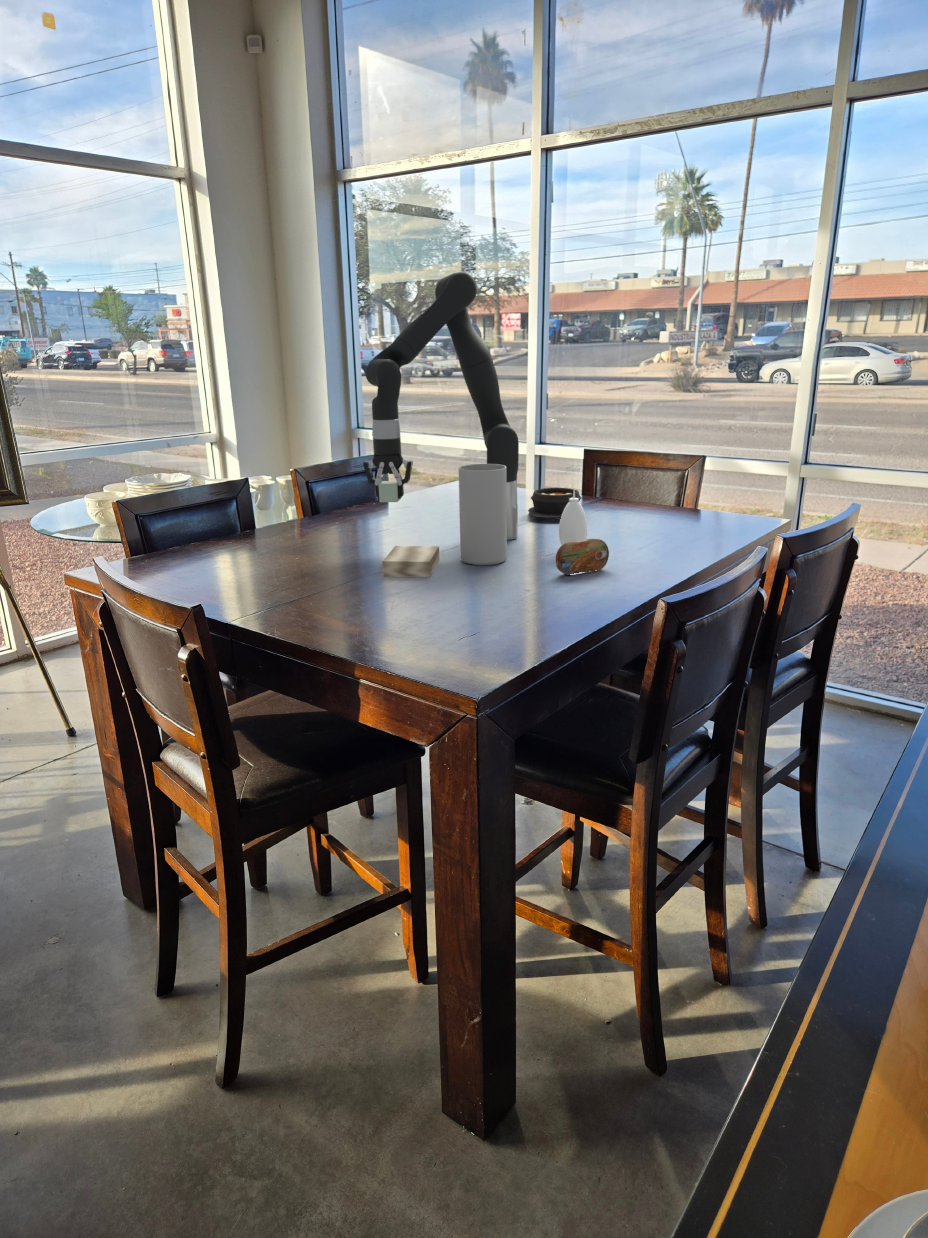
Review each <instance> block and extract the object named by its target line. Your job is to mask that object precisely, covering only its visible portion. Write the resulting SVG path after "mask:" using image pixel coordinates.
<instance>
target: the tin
mask: <svg viewBox="0 0 928 1238" xmlns="http://www.w3.org/2000/svg"><path fill="white" fill-rule="evenodd" d="M609 557H610V551H609V546H608V545H607V543H606V542H605V541H604V540H602V539H599V538H587V539H586V540H580V541H575V542H568V543H565V544H563V545H561V546H560V547H559V548H558V549H557V551H556V554H555V565H556V568H557V569H558V571H559V572H561V574H564V575H567V576H568V575H570V574H574V573H579V572H589V571H595V570H599V571H601V570H602V569H603V568H605V566H606V565H607V563H608V560H609Z"/></svg>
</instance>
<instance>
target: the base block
mask: <svg viewBox="0 0 928 1238" xmlns="http://www.w3.org/2000/svg"><path fill="white" fill-rule="evenodd" d="M439 562H440V546H439V545H437V546H436V545H431V546H430V545H428V546H427V545H395V546H394V547H392V549H391V550H390V552H389V553H388V554H387V555H386V556H385V558H384V559H383V560H382V566H383V567H382V570H383V573H382V575H383V577H394V578H396V577H399V578H401V577H403V578H404V577H405V578H412V577H413V578H414V577H417V578H430V577H431V576H432V574H433V573H434V571H435V569H436V567H437V566H438V564H439Z"/></svg>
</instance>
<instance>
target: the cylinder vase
mask: <svg viewBox="0 0 928 1238" xmlns="http://www.w3.org/2000/svg"><path fill="white" fill-rule="evenodd" d="M458 499H459V500H458V503H459V506H458V507H459V508H458V509H459V511H458V512H459V543H460V544H459V545H460V546H459V548H460V549H459V550H460V560H461V561H462V562H463V563H465V564H467V563H468V565H471V564H473V566H493V565H499V564H501V563H504V562H505V561H506V560H507V557H508V555H507V553H508V544H507V542H508V540H507V483H506V466H504V465H499V464H487V463H473V464H465V465H460V466H458Z"/></svg>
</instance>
